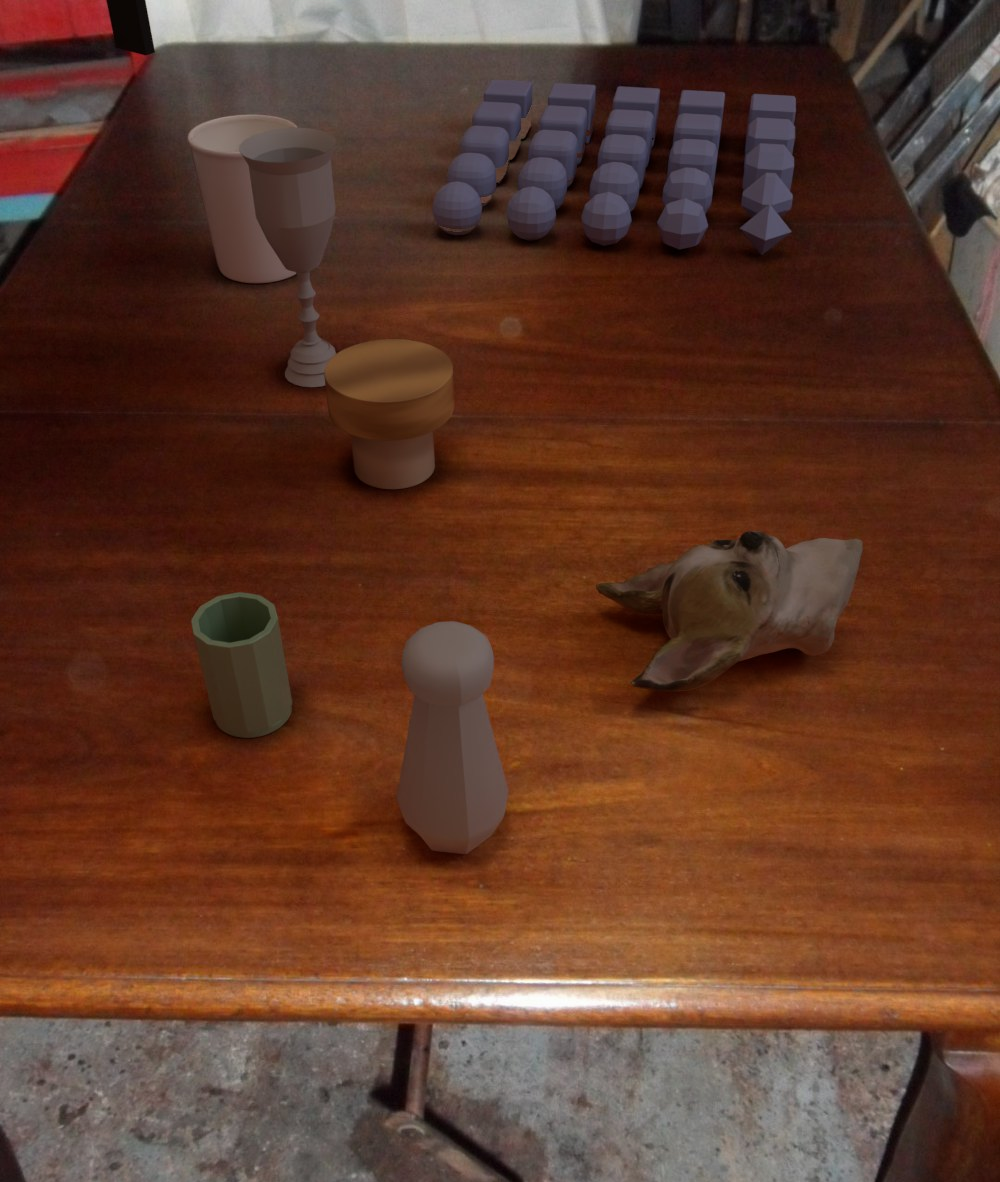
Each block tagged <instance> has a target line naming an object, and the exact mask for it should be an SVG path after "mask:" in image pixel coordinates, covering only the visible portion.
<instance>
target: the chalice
mask: <svg viewBox="0 0 1000 1182" xmlns="http://www.w3.org/2000/svg"><path fill="white" fill-rule="evenodd" d="M336 144H337V139H336V137H335V136H334V135H333V134H331V133H329V132H327V131H324V130H322V129H316V128H310V127H298V128H283V129H276V130H270V131H265V132H262V133H259V134H256V135H253V136H251V137H249V138H247V139H245V140H244V141H243V142H242V143H241V144H240V145H239V152H240V153H241V155H242V156H243V158H244V159H245V161H246V162H247V164H248V166H249V173H250V180H251V187H252V194H253V201H254V208H255V214H256V219H257V221H258V223H259V225H260V227H261V229H262V231H263V233H264V235H265V237H266V239H267V241H268V243H269V244H270V246H271V247H272V249H273V250H274V252H275V253H276V255H277V256H278V258H279V259H280V261H281V263H282V264H283V266H284V267H285V268H286V269H287V270H289V271H293V272H296V274H295V275H296V277H297V279H298V284H297V291H296V292H295V297H296V298H297V299H298V301H299V303H300V306H301V309H300V313H299V314H298V315H297V320H298V321H299V322H301V323H302V327H303V329H304V335H303V338H302V339H301V340H299V341H298V342H296V343H295V344H294V346H293V347H292V349H291V351H290V356H289V358H288V360H287V367H286V368H285V371H284V378H285V379H286V380H287V381H288V382H289V383H291V384H293V385H295V386H299V387H303V388H304V387H305V388H318V387H324V386H325V378H324V370H325V367H326V365H327V363H328V362H329V360H330V359H331V358H332V357H333V356H334V355H336V354H337V353H338V352H336V348H335V347H334V346H333V345H332V344H331V343H330V342H328V341H327V340H325V339H323V338H321V337H320V336H319V334H318V332H317V330H316V327H317V320H319V318H320V314H319V312H317V311H316V309H315V307H314V305H313V304H314V300H315V299H314V298H315V296H316V295H317V292H316V291H315V289H314V288H313V285H312V283H311V280H310V279H311V271H314V270H316V269H317V268H318V267H320V265H321V264H322V263H321V262H322V259H323V257H324V254H325V252H326V249H327V246H328V243H329V240H330V237H331V234H332V229H333V224H334V220H335V215H336V202H335V201H336V200H335V191H334V181H333V171H332V170H333V169H332V160H331V159H332V156H333V153H334V150H335V147H336V146H337V145H336ZM325 387H326V386H325Z"/></svg>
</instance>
